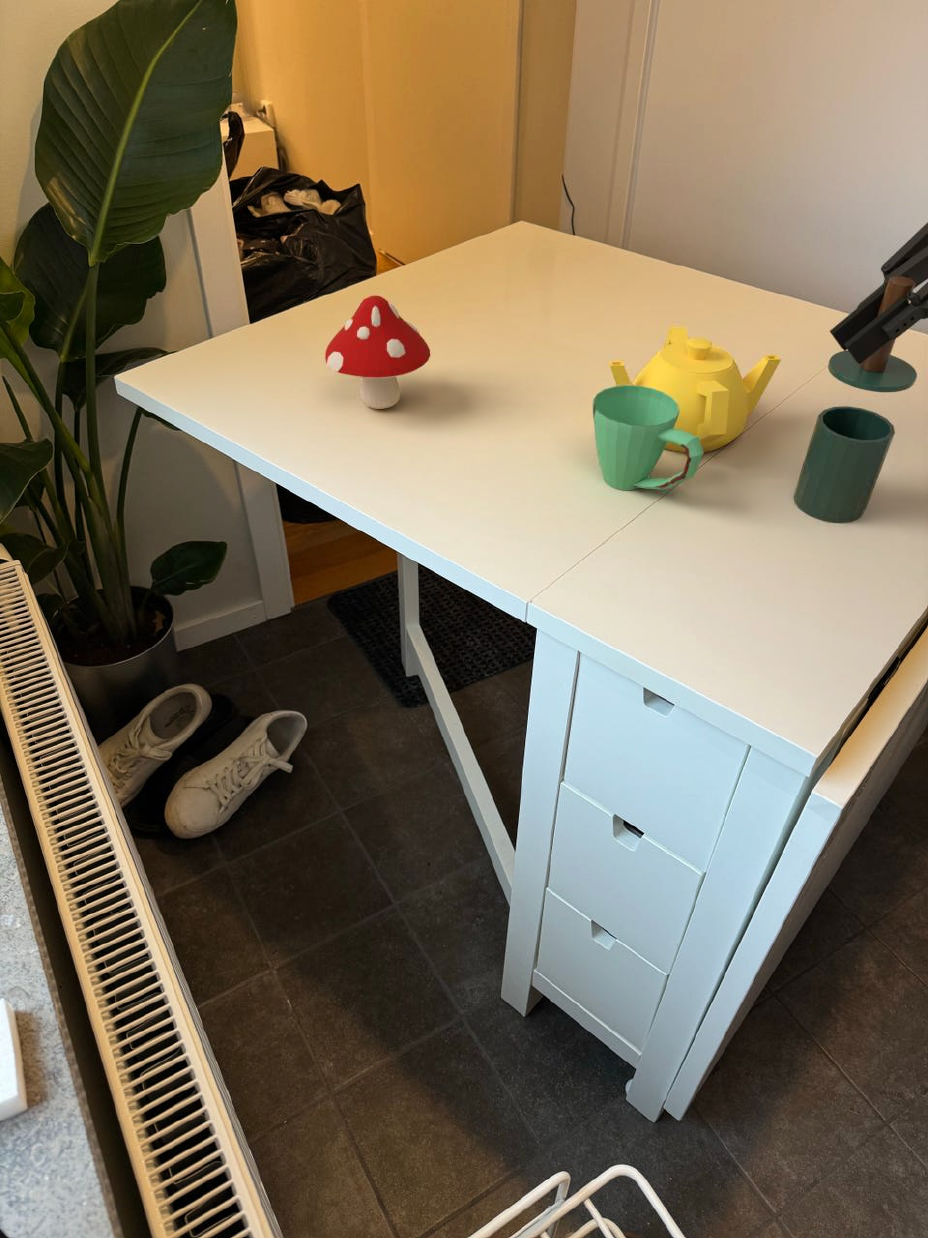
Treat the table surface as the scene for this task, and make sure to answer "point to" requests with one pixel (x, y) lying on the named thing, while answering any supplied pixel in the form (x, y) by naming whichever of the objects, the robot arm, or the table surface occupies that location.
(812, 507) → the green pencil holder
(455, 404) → the table surface
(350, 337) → the decorative mushroom
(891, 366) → the ring toss peg stand
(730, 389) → the teapot
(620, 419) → the mug
